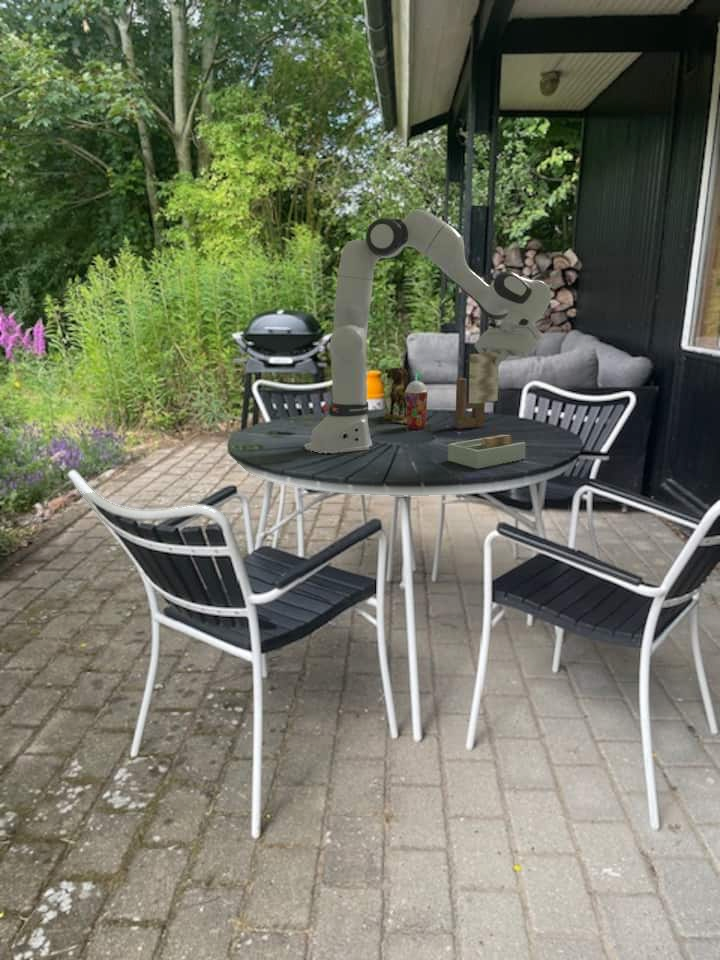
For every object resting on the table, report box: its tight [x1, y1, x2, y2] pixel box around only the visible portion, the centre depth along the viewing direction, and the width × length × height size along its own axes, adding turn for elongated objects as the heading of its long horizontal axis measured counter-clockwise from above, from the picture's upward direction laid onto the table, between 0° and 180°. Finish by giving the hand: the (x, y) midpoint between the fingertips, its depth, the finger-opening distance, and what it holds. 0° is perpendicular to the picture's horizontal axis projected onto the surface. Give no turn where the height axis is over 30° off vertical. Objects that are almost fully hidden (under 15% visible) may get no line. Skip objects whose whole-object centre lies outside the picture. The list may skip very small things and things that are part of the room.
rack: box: [447, 437, 527, 470], centre depth 206 cm, size 19×13×5 cm, turn 124°
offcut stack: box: [481, 434, 512, 449], centre depth 204 cm, size 10×4×8 cm, turn 124°
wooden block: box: [453, 377, 486, 430], centre depth 255 cm, size 4×11×18 cm, turn 109°
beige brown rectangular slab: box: [468, 352, 500, 404], centre depth 205 cm, size 9×3×14 cm, turn 123°
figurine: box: [379, 367, 409, 426], centre depth 273 cm, size 13×25×20 cm, turn 9°
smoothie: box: [405, 372, 429, 430], centre depth 255 cm, size 8×8×20 cm
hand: (490, 363), depth 206 cm, fingers closed on beige brown rectangular slab, 3 cm apart
